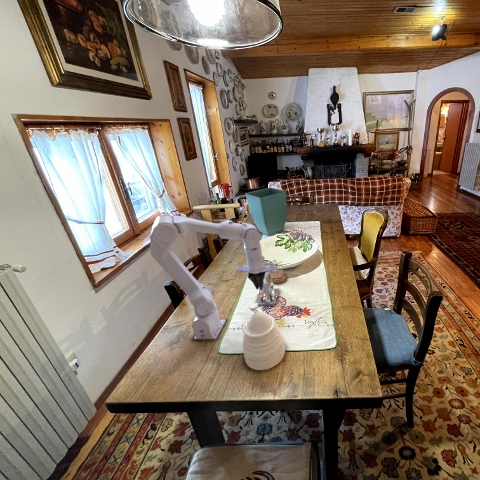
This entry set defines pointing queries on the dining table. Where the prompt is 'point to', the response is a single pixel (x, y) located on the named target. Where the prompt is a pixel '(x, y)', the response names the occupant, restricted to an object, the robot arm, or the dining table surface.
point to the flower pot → (268, 209)
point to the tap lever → (263, 290)
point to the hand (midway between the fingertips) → (259, 288)
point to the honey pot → (262, 340)
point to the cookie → (276, 277)
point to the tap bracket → (268, 295)
